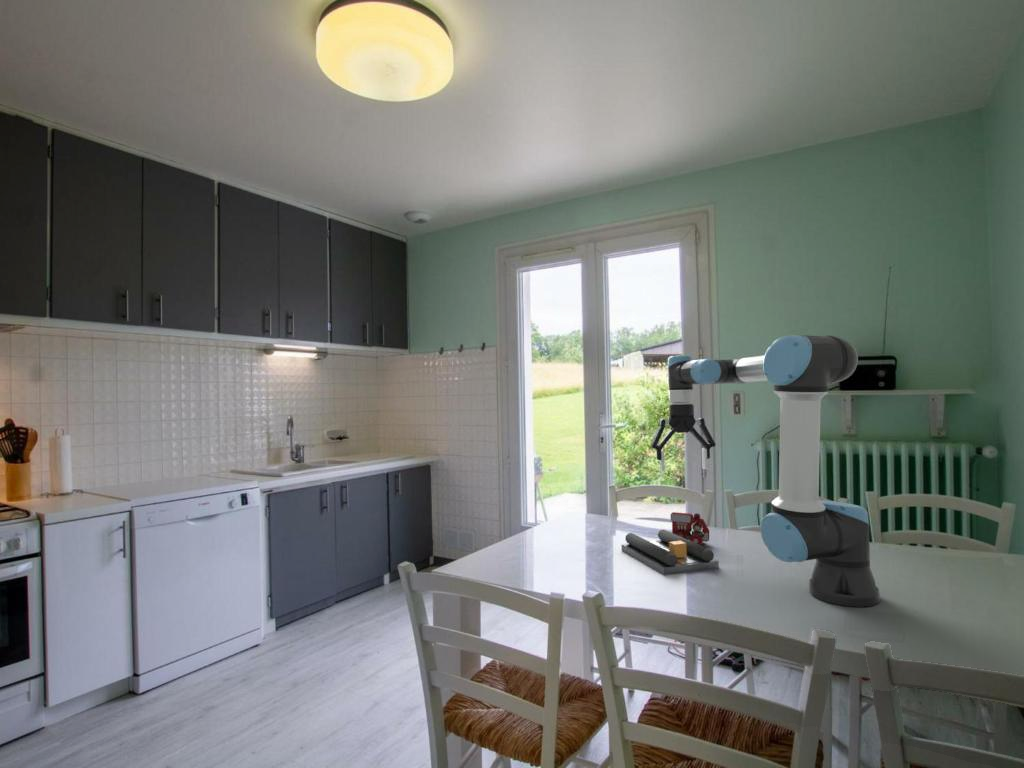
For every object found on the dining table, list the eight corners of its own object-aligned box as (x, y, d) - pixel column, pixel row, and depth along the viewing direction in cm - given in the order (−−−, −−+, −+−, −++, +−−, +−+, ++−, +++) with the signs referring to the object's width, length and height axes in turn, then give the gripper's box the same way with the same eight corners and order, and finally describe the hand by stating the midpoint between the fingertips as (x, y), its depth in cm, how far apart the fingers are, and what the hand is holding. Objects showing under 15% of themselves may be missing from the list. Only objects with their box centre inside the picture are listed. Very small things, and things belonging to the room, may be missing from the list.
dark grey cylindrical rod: (716, 562, 162) (716, 549, 162) (705, 563, 161) (705, 551, 161) (665, 538, 188) (665, 528, 188) (656, 539, 187) (655, 529, 187)
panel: (718, 567, 163) (718, 560, 163) (664, 575, 158) (663, 567, 158) (670, 544, 188) (669, 538, 188) (621, 550, 183) (621, 543, 183)
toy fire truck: (708, 548, 183) (707, 516, 183) (669, 544, 188) (668, 513, 188) (710, 543, 189) (709, 512, 189) (673, 539, 195) (672, 509, 195)
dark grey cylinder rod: (680, 566, 158) (679, 554, 159) (669, 568, 158) (668, 555, 158) (633, 542, 185) (633, 531, 185) (623, 543, 184) (623, 532, 184)
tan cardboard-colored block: (686, 556, 166) (686, 543, 166) (674, 558, 165) (674, 544, 165) (680, 553, 169) (680, 540, 169) (669, 555, 168) (668, 541, 168)
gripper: (715, 402, 183) (718, 467, 183) (639, 404, 183) (642, 469, 183) (724, 402, 176) (727, 470, 175) (645, 404, 176) (647, 472, 175)
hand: (683, 469), depth 179 cm, fingers open, 13 cm apart
